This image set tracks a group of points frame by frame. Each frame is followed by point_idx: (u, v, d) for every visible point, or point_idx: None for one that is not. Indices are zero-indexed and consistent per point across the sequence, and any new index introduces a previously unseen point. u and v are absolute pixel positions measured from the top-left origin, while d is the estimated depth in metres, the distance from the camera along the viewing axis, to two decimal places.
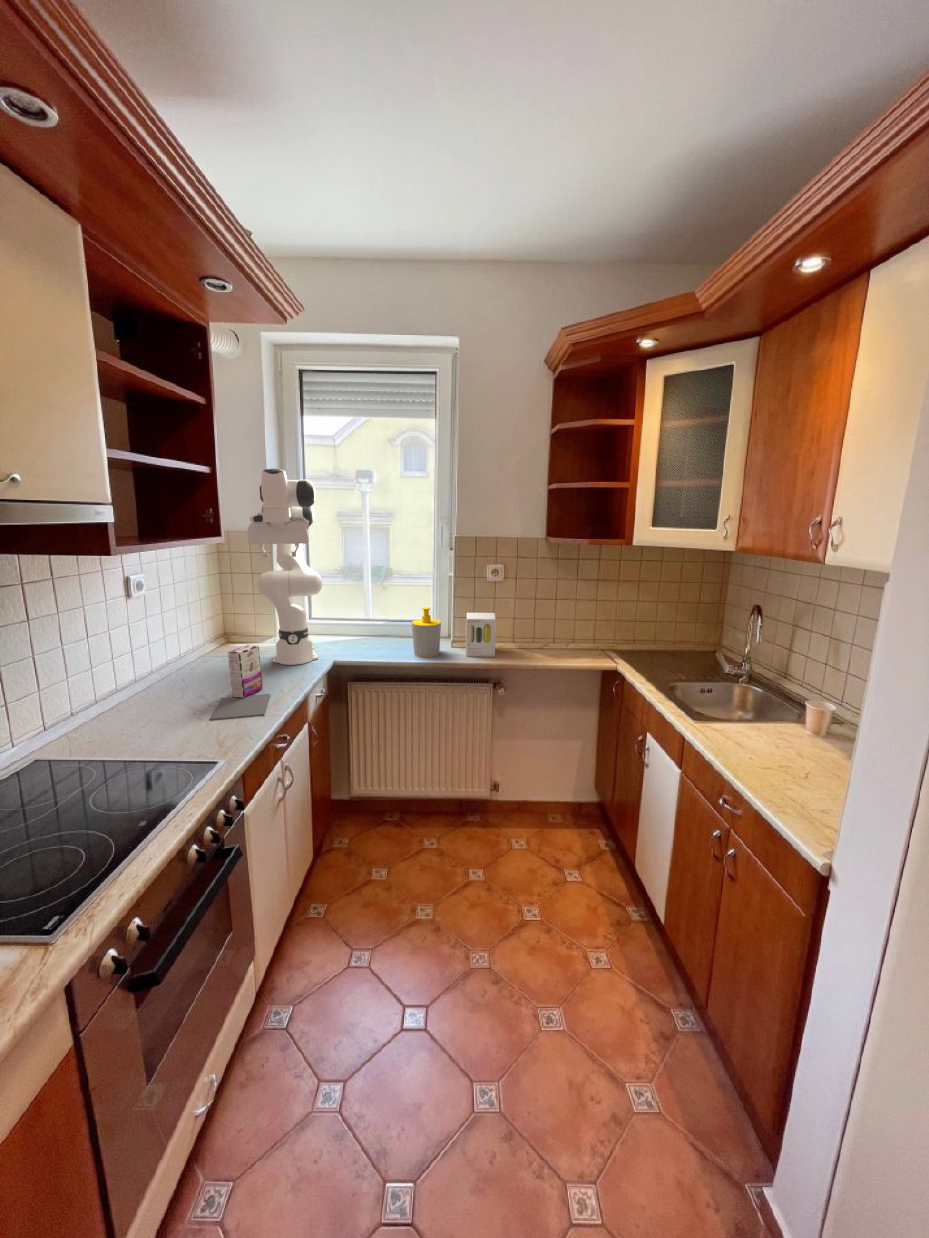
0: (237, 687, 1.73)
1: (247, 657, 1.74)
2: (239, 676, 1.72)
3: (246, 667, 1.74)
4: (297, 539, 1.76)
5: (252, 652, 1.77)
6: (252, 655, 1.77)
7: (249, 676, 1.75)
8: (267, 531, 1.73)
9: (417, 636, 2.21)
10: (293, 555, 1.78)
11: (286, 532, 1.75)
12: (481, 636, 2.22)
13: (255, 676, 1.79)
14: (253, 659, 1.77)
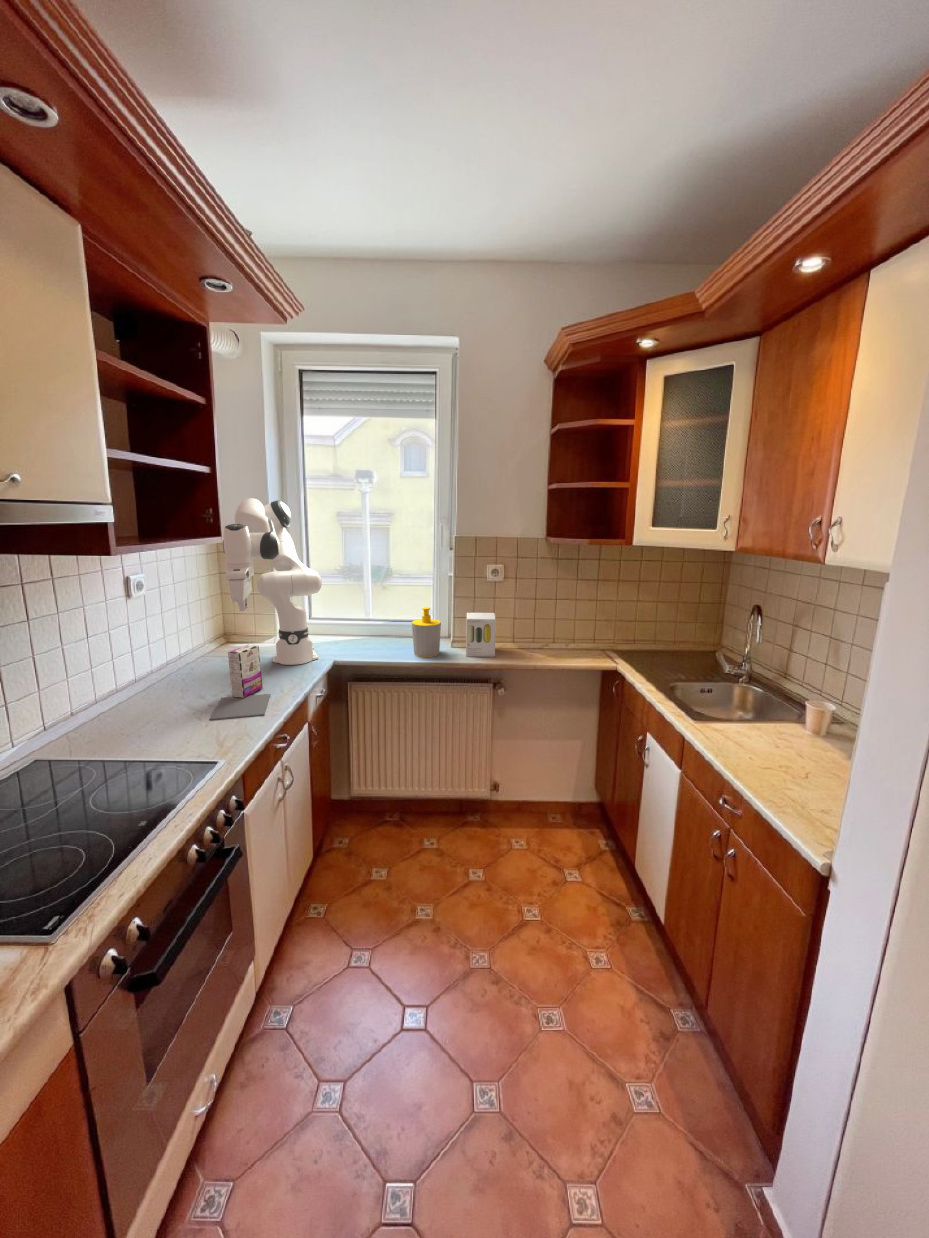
0: (237, 687, 1.73)
1: (247, 657, 1.74)
2: (239, 676, 1.72)
3: (246, 667, 1.74)
4: (250, 589, 1.85)
5: (251, 652, 1.77)
6: (252, 655, 1.77)
7: (249, 676, 1.75)
8: (244, 586, 1.75)
9: (417, 636, 2.21)
10: (247, 606, 1.82)
11: (247, 583, 1.81)
12: (481, 636, 2.22)
13: (255, 676, 1.79)
14: (253, 659, 1.77)
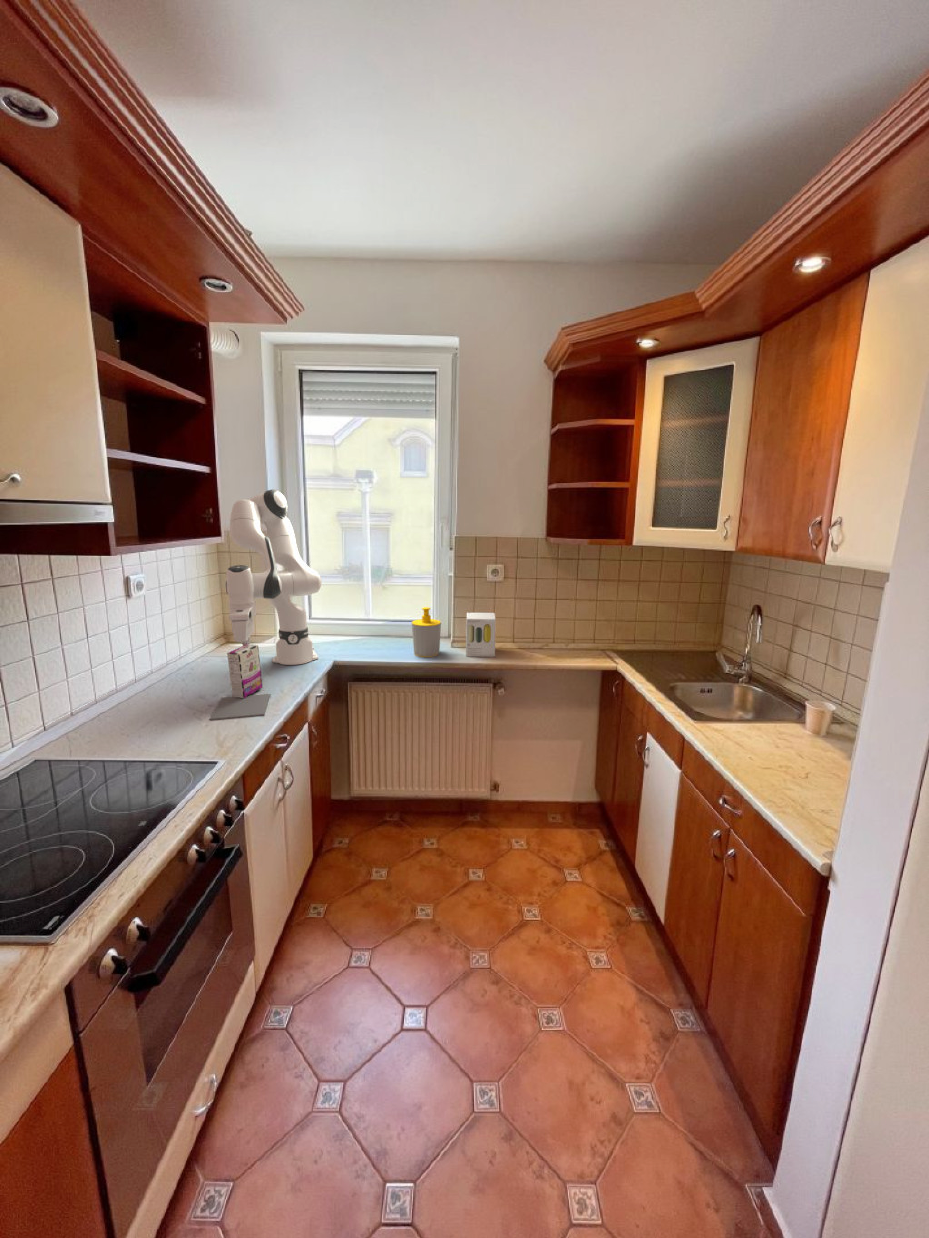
0: (237, 688, 1.72)
1: (247, 658, 1.73)
2: (238, 677, 1.71)
3: (246, 668, 1.73)
4: (253, 628, 1.87)
5: (251, 652, 1.76)
6: (251, 655, 1.76)
7: (249, 676, 1.75)
8: (247, 626, 1.77)
9: (417, 636, 2.21)
10: None
11: (250, 623, 1.83)
12: (481, 636, 2.22)
13: (255, 676, 1.78)
14: (253, 659, 1.77)
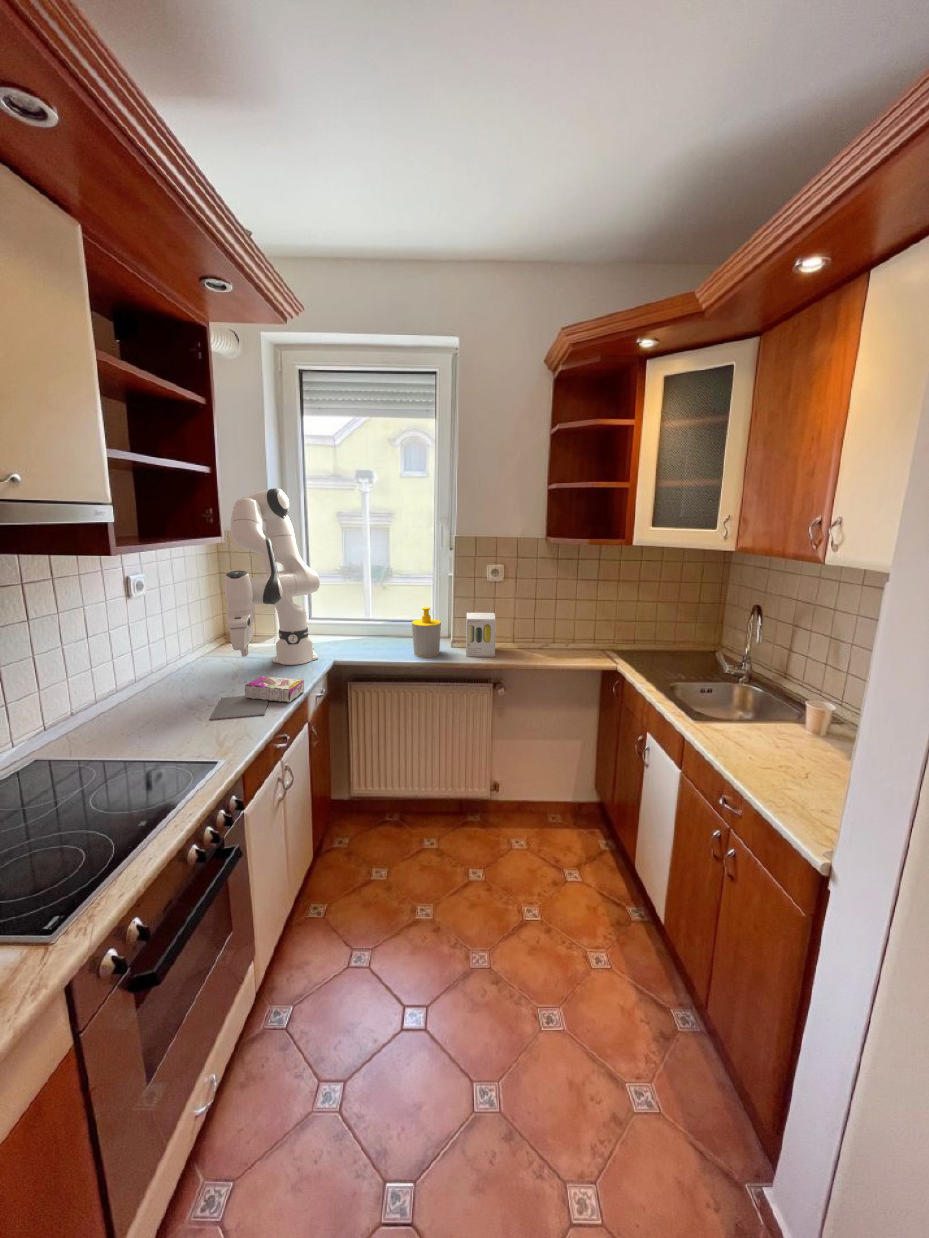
0: (254, 693, 1.71)
1: None
2: (265, 697, 1.71)
3: None
4: (251, 634, 1.84)
5: None
6: None
7: None
8: (245, 633, 1.74)
9: (417, 636, 2.21)
10: (247, 653, 1.79)
11: (248, 629, 1.80)
12: (481, 636, 2.22)
13: None
14: None
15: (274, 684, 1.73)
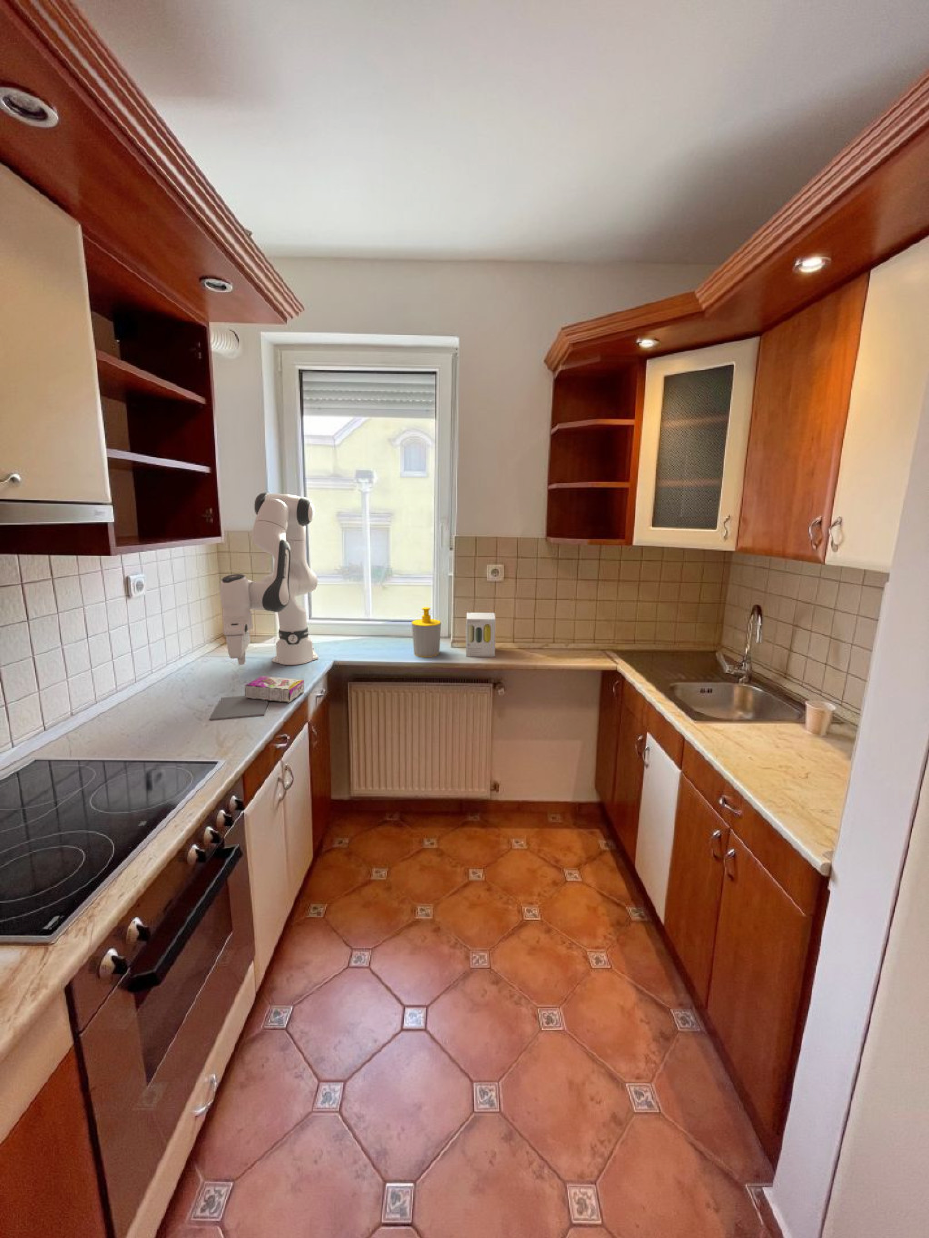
0: (254, 693, 1.71)
1: None
2: (265, 697, 1.71)
3: None
4: (248, 641, 1.75)
5: None
6: None
7: None
8: (242, 640, 1.65)
9: (417, 636, 2.21)
10: (244, 661, 1.70)
11: (245, 636, 1.71)
12: (481, 636, 2.22)
13: None
14: None
15: (274, 684, 1.73)
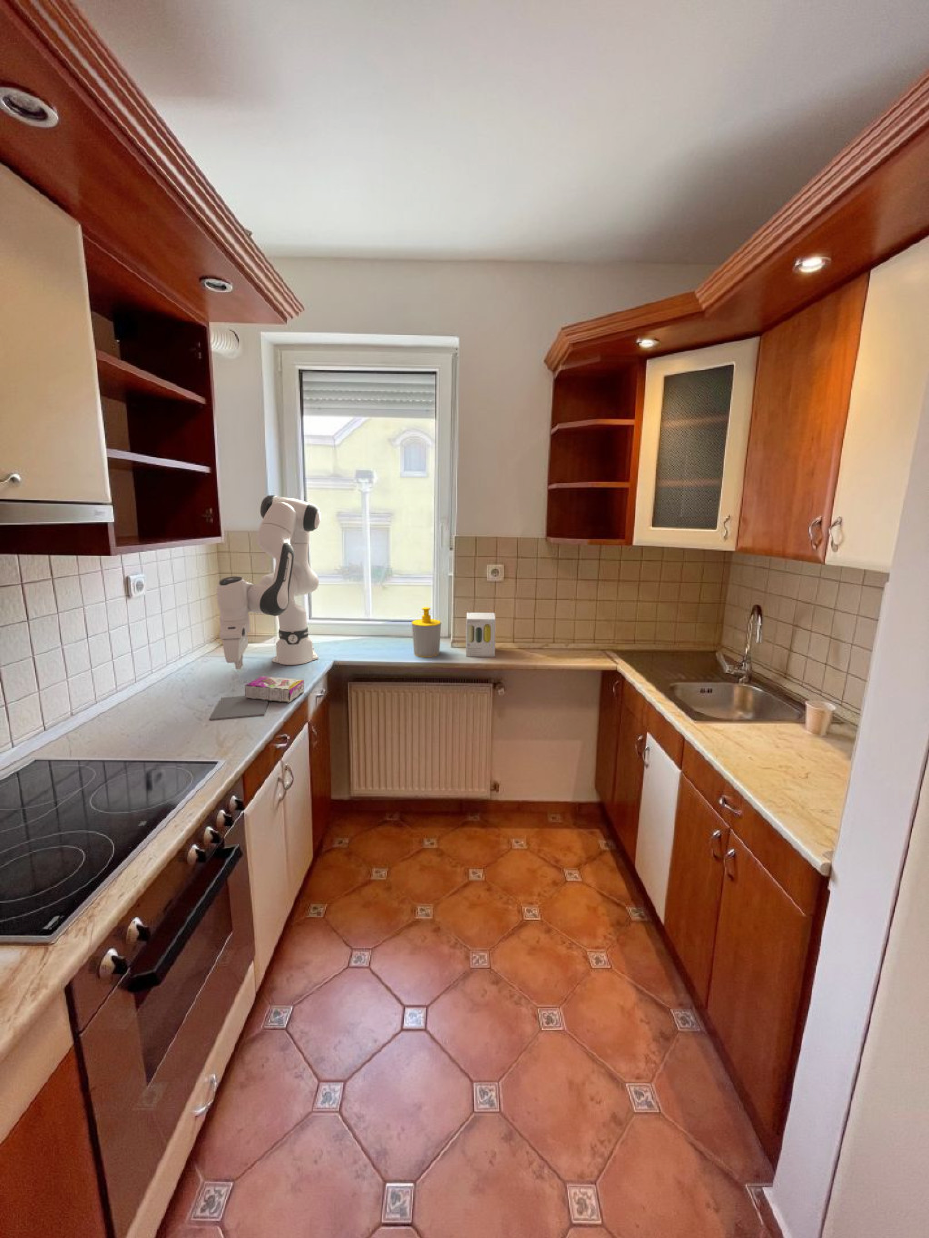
0: (254, 693, 1.71)
1: None
2: (265, 697, 1.71)
3: None
4: (246, 644, 1.71)
5: None
6: None
7: None
8: (239, 643, 1.61)
9: (417, 636, 2.21)
10: (242, 665, 1.67)
11: (243, 639, 1.67)
12: (481, 636, 2.22)
13: None
14: None
15: (274, 684, 1.73)
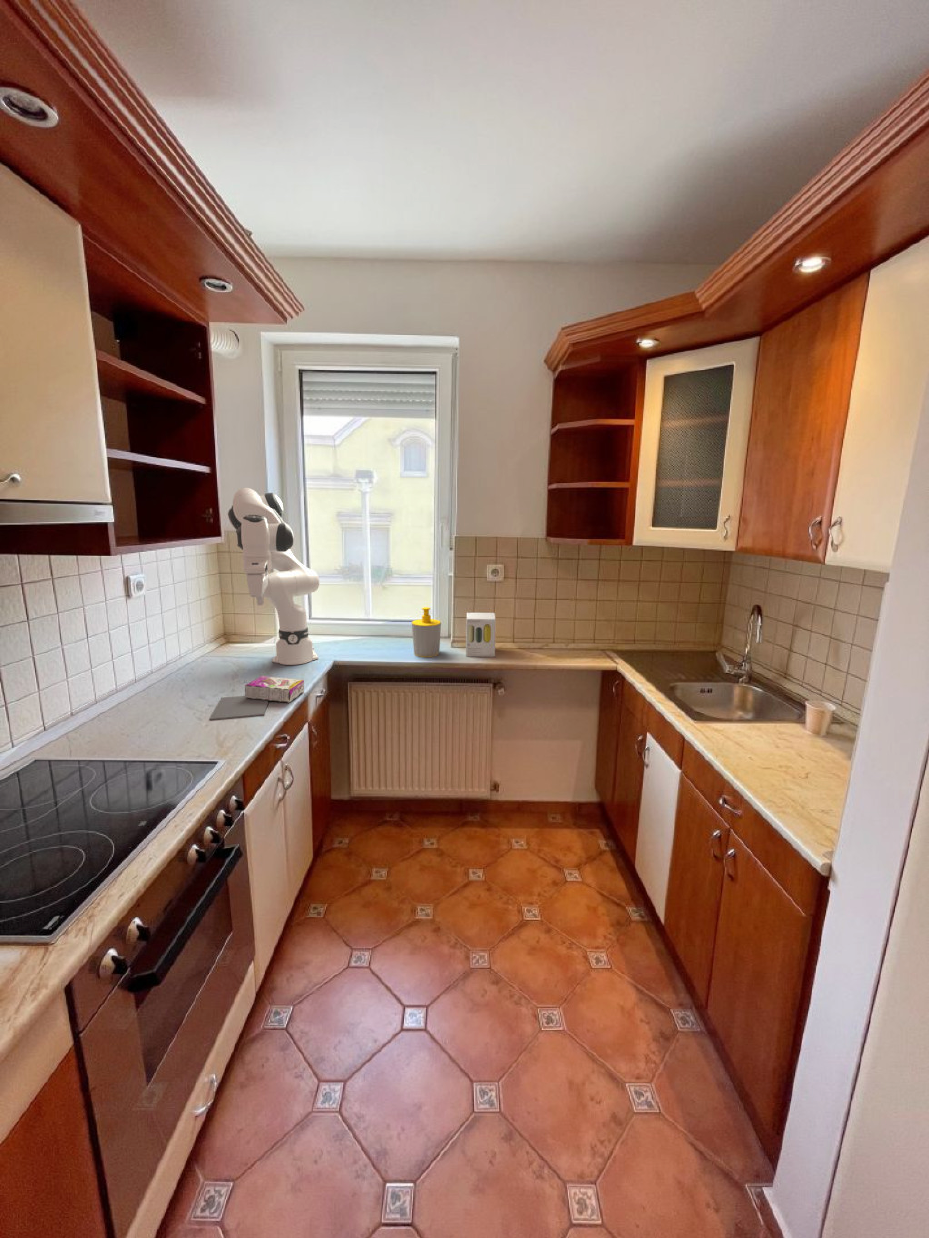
0: (254, 693, 1.71)
1: None
2: (265, 697, 1.71)
3: None
4: (267, 583, 1.78)
5: None
6: None
7: None
8: None
9: (417, 636, 2.21)
10: (263, 602, 1.73)
11: (264, 577, 1.74)
12: (481, 636, 2.22)
13: None
14: None
15: (274, 684, 1.73)
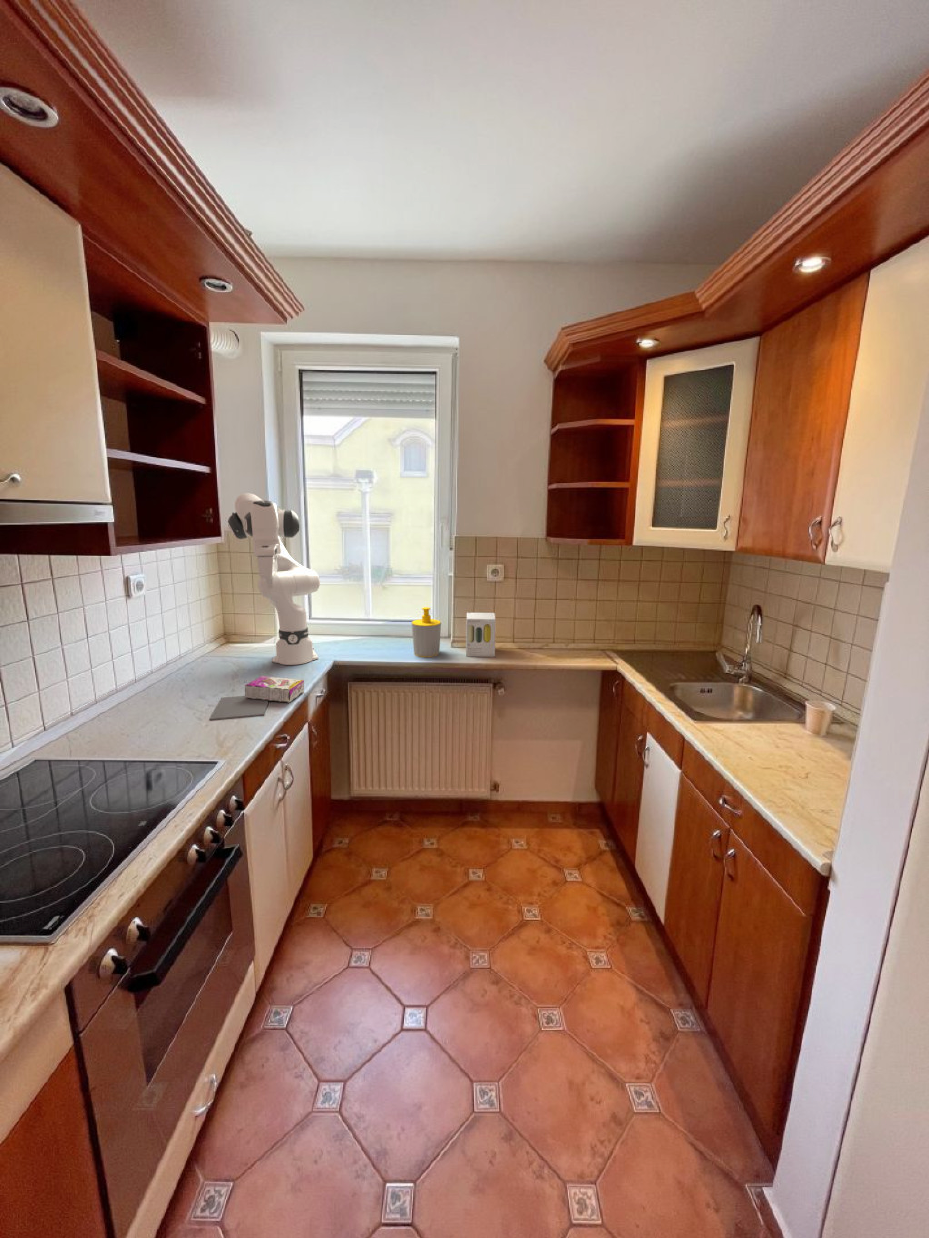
0: (254, 693, 1.71)
1: None
2: (265, 697, 1.71)
3: None
4: (276, 568, 1.83)
5: None
6: None
7: None
8: None
9: (417, 636, 2.21)
10: (273, 586, 1.78)
11: (274, 562, 1.79)
12: (481, 636, 2.22)
13: None
14: None
15: (274, 684, 1.73)
